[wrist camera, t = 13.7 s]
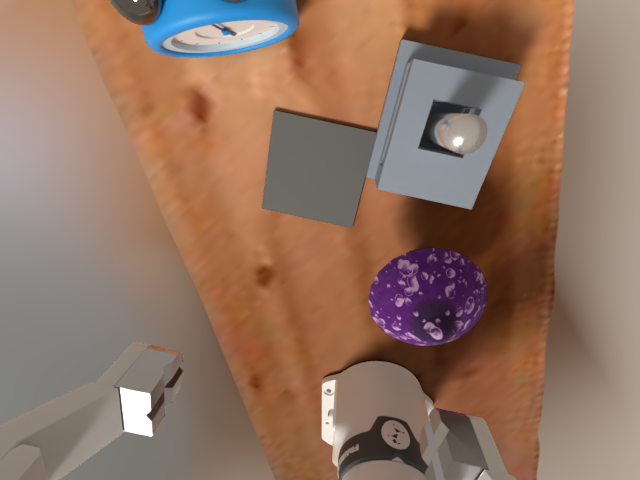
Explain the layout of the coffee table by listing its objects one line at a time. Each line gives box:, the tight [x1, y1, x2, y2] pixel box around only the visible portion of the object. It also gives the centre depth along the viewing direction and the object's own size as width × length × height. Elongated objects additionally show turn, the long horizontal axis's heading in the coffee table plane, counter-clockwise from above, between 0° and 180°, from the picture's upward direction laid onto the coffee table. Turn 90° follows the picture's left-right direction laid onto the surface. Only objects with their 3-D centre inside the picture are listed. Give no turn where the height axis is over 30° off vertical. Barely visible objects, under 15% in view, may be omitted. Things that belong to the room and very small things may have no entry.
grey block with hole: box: [366, 39, 525, 210], centre depth 32 cm, size 14×12×6 cm
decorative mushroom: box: [369, 248, 487, 346], centre depth 35 cm, size 12×12×15 cm
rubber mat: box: [262, 110, 377, 228], centre depth 38 cm, size 12×12×1 cm
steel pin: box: [423, 112, 488, 154], centre depth 29 cm, size 3×3×10 cm
